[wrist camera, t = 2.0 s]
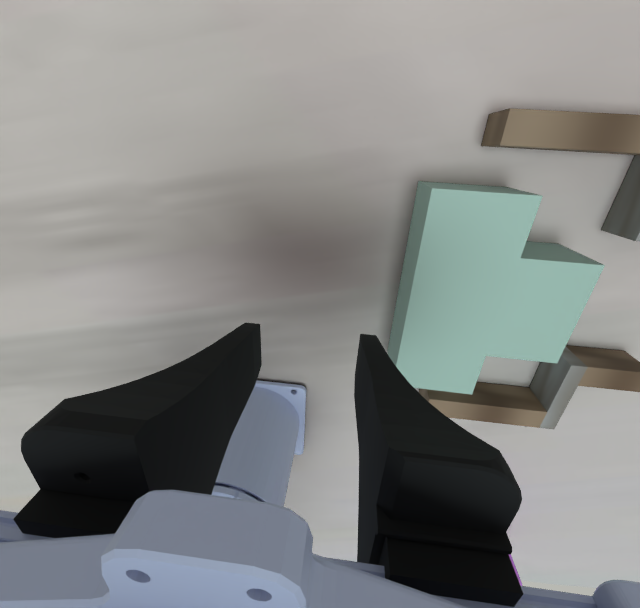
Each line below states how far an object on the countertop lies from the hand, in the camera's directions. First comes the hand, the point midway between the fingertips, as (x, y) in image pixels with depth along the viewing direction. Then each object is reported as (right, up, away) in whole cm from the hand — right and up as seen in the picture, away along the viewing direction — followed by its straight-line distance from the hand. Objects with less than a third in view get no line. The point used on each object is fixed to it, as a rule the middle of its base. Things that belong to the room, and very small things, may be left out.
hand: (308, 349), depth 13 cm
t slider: (+10, +3, +8) cm, 13 cm away
